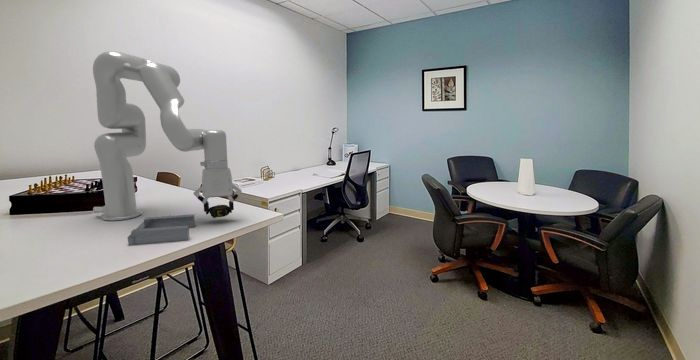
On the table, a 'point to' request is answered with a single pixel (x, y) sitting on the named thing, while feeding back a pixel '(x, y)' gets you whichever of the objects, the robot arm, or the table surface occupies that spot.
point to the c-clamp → (162, 229)
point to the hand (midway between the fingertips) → (219, 212)
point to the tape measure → (219, 211)
